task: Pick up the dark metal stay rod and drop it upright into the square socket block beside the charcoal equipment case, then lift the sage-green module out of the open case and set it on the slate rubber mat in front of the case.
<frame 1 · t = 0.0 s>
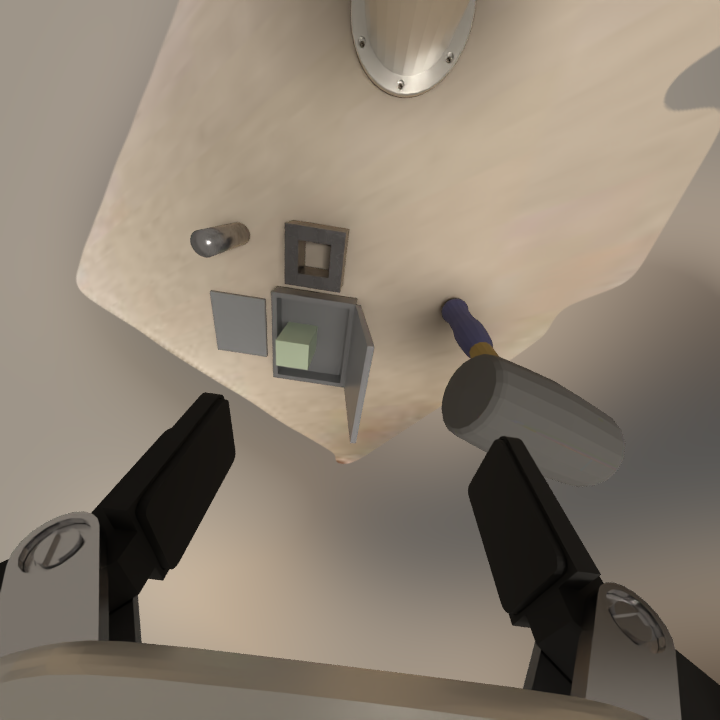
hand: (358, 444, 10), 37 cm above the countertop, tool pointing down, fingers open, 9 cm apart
square socket block: (319, 253, 42), on the countertop
stay rod: (239, 233, 41), on the countertop
lid: (355, 371, 41), point 9 cm above the countertop, hinge at 100.0°
mat: (241, 324, 49), on the countertop
module: (302, 335, 48), resting on case
case: (314, 336, 49), on the countertop
rubber mallet: (451, 306, 45), on the countertop
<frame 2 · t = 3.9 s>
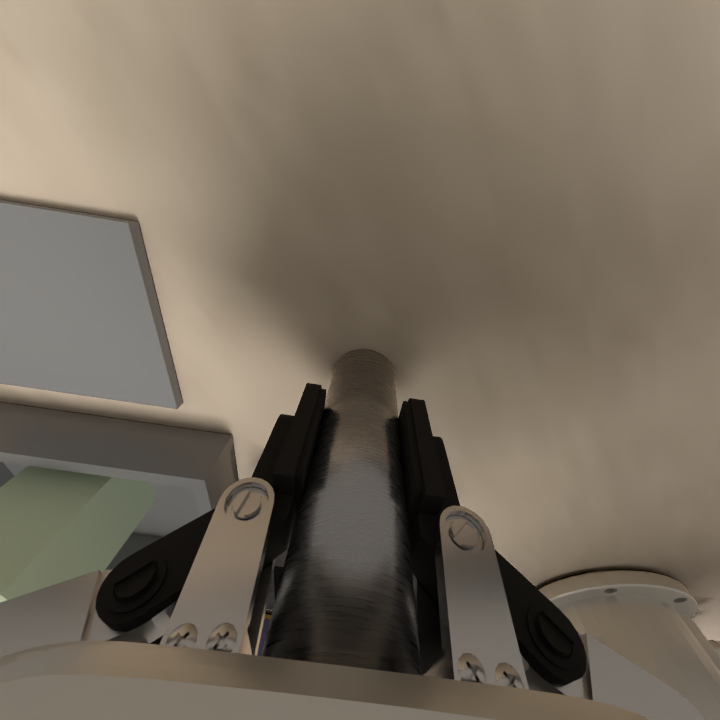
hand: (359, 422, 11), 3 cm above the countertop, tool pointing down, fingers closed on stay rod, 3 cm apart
square socket block: (325, 511, 20), on the countertop
stay rod: (363, 376, 14), on the countertop, touching gripper
mat: (44, 310, 13), on the countertop
module: (112, 472, 18), resting on case
case: (127, 484, 19), on the countertop
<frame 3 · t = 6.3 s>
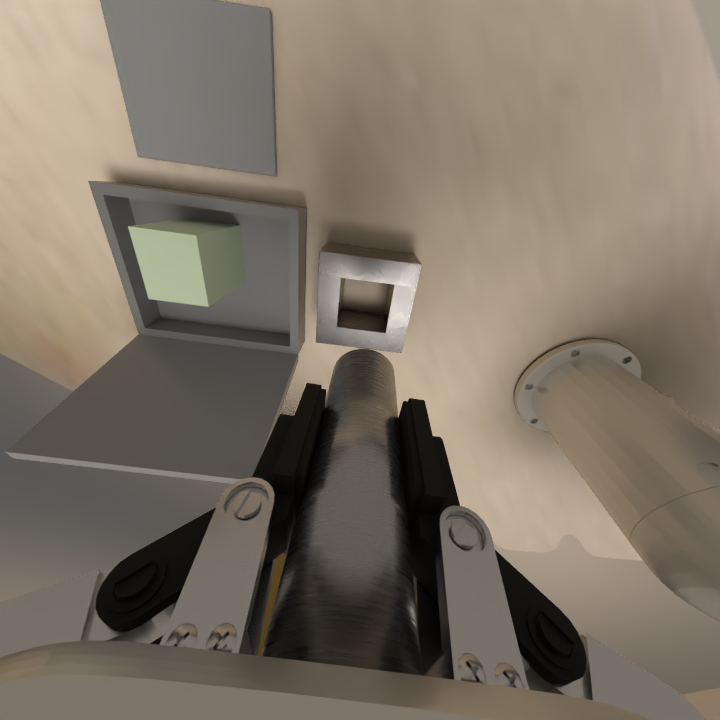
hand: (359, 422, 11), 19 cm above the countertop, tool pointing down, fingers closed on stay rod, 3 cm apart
square socket block: (365, 290, 27), on the countertop
stay rod: (363, 375, 14), point 16 cm above the countertop, touching gripper
lid: (185, 395, 23), point 9 cm above the countertop, hinge at 100.0°
mat: (200, 93, 20), on the countertop
module: (218, 251, 26), resting on case
case: (224, 272, 27), on the countertop
rubber mallet: (310, 438, 39), on the countertop
when the fingers open (6 cm above the countertop, at t = 9.1 s): stay rod drops 3 cm, resting in square socket block.
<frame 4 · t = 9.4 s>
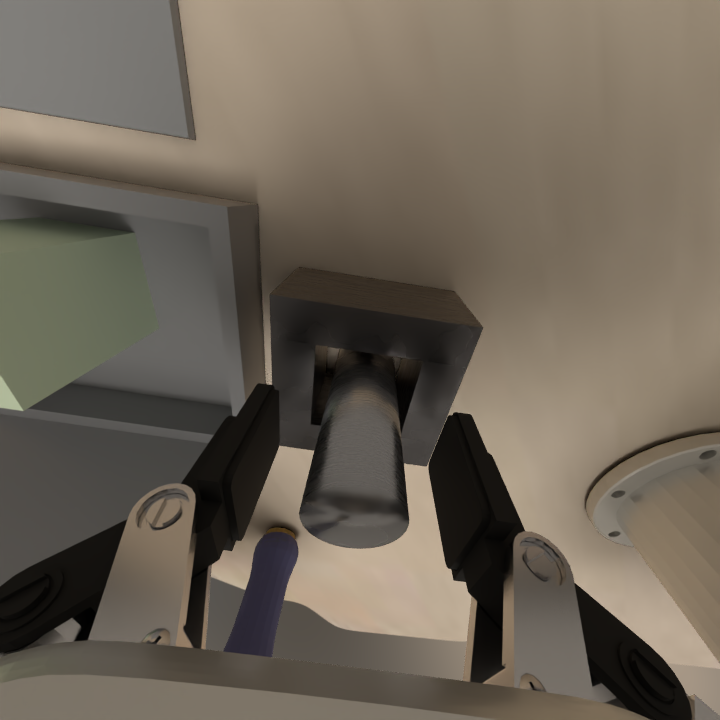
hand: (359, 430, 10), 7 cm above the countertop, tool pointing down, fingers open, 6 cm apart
square socket block: (365, 347, 16), on the countertop
stay rod: (366, 347, 16), resting in square socket block
lid: (8, 562, 12), point 9 cm above the countertop, hinge at 100.0°
module: (104, 277, 14), resting on case
case: (123, 310, 16), on the countertop
rubber mallet: (282, 531, 28), on the countertop
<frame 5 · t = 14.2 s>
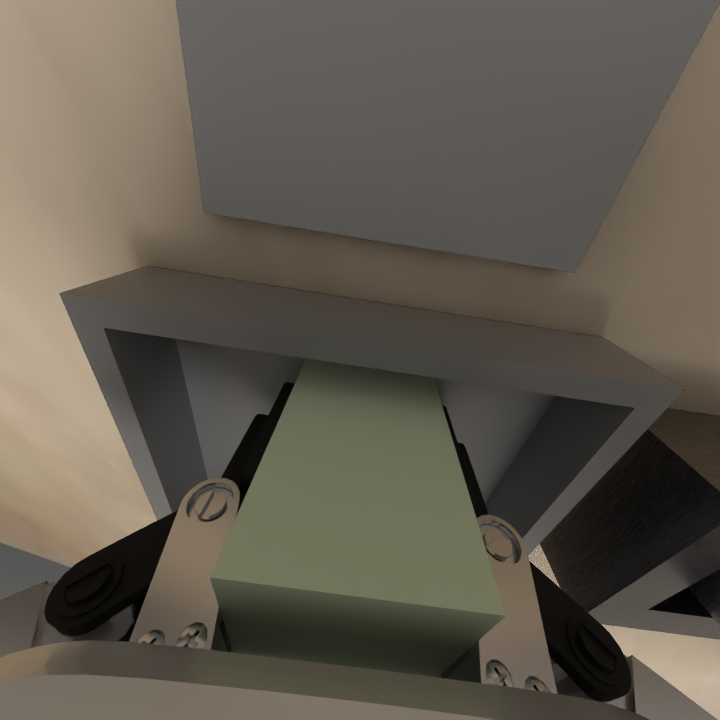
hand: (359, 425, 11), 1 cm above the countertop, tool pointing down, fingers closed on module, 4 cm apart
square socket block: (644, 477, 13), on the countertop
stay rod: (644, 477, 13), resting in square socket block
mat: (431, 26, 6), on the countertop
module: (360, 410, 11), point 1 cm above the countertop, touching case, gripper
case: (355, 435, 13), on the countertop
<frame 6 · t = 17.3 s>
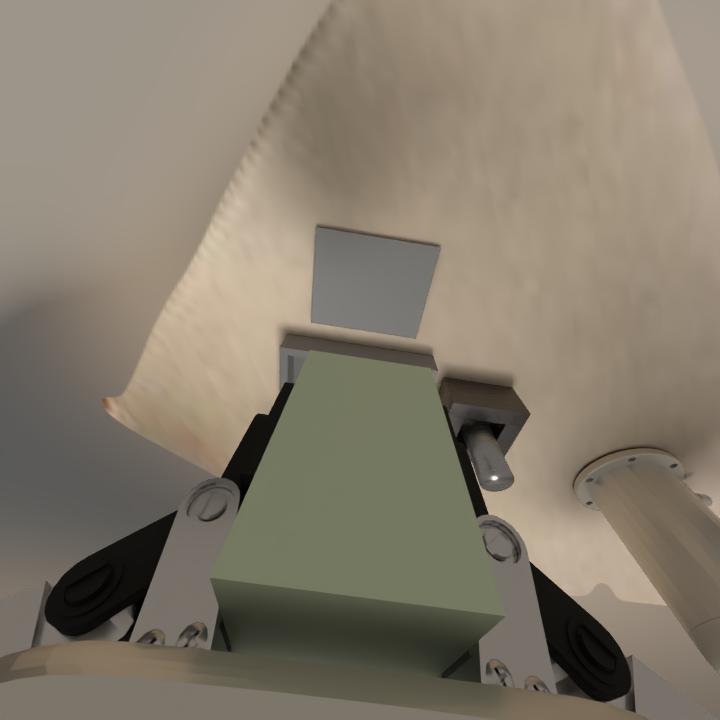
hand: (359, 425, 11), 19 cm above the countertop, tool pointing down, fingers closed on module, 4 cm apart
square socket block: (466, 408, 34), on the countertop
stay rod: (466, 408, 34), resting in square socket block
mat: (370, 286, 27), on the countertop
module: (360, 410, 11), point 18 cm above the countertop, touching gripper
case: (353, 392, 33), on the countertop
when the fingers open (3 cm above the countertop, at t = 20.5 s): module drops 1 cm, resting on mat.
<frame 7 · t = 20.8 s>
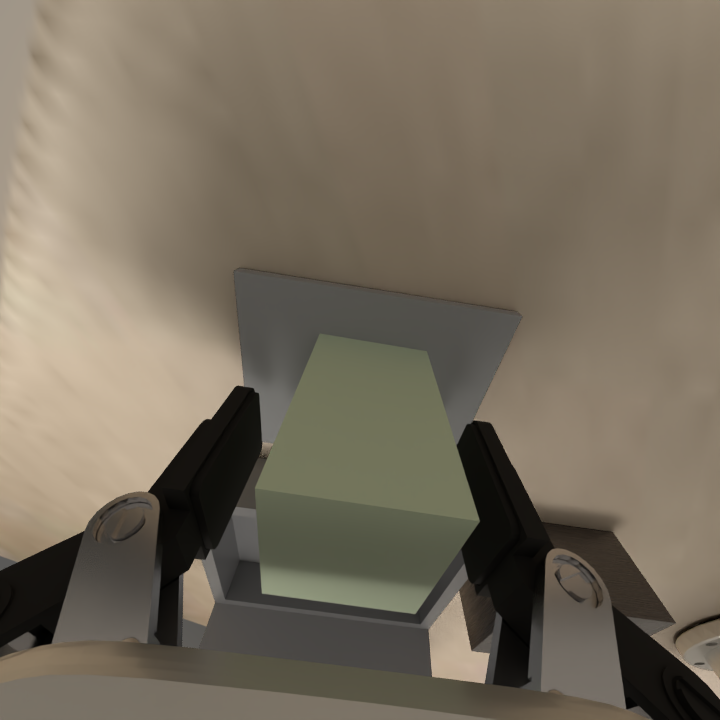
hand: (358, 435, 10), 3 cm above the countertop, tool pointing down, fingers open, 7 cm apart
square socket block: (526, 553, 20), on the countertop
mat: (363, 382, 13), on the countertop
module: (363, 389, 13), resting on mat
case: (336, 528, 20), on the countertop
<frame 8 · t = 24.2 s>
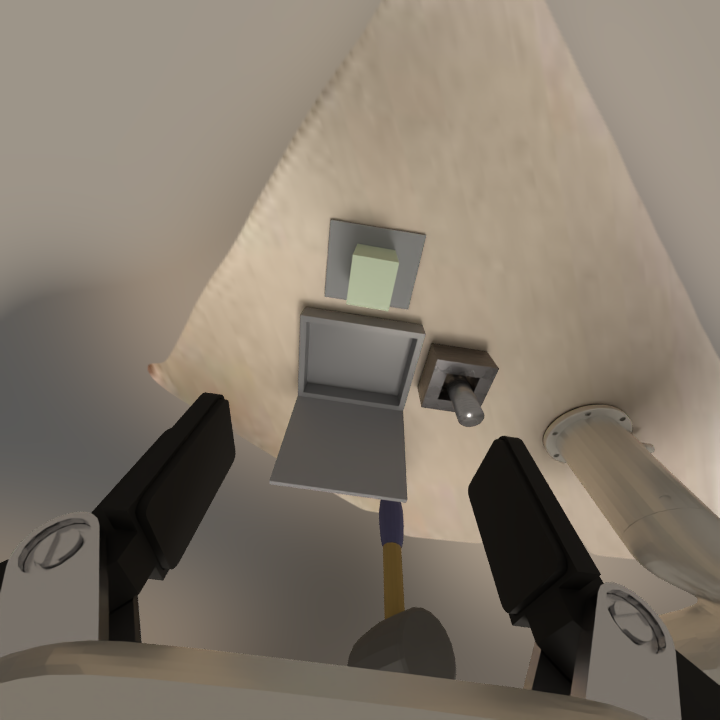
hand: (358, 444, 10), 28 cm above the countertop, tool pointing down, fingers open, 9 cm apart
square socket block: (450, 370, 41), on the countertop
stay rod: (451, 370, 41), resting in square socket block
lid: (345, 442, 37), point 9 cm above the countertop, hinge at 100.0°
mat: (372, 267, 34), on the countertop
module: (372, 268, 34), resting on mat
case: (357, 356, 41), on the countertop
rubber mallet: (388, 461, 53), on the countertop
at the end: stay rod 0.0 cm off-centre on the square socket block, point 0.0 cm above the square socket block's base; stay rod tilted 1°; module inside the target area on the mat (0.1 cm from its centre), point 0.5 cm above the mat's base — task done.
